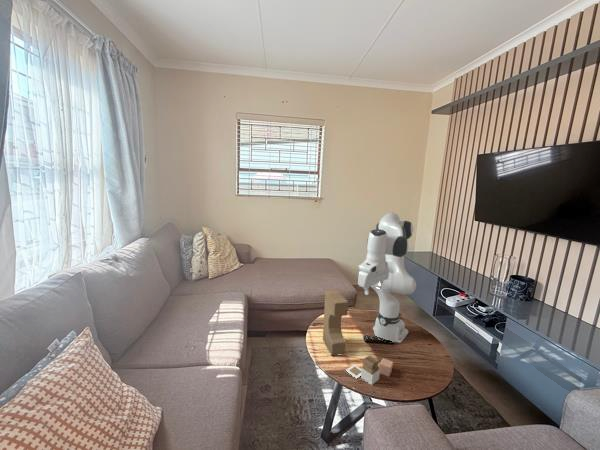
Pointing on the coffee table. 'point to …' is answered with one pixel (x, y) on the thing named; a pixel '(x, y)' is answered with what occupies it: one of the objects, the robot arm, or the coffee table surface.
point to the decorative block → (334, 321)
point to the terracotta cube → (385, 367)
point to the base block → (370, 376)
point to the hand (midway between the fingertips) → (372, 291)
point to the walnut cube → (370, 364)
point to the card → (354, 371)
